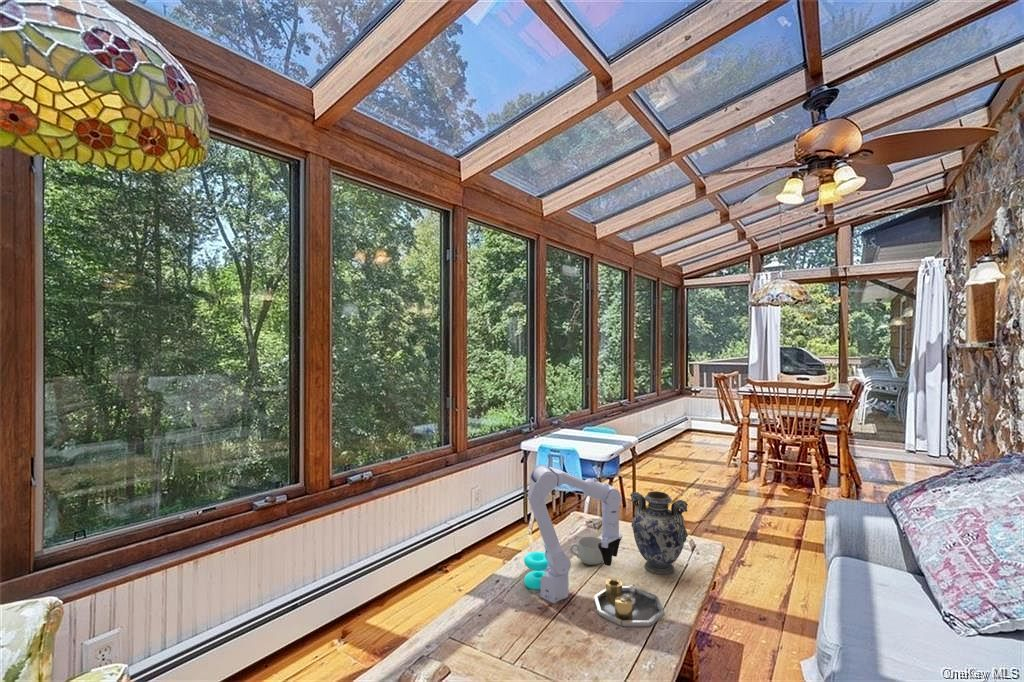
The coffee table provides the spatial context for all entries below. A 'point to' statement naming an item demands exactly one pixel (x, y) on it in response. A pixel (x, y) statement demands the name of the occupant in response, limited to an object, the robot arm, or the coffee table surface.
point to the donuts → (538, 564)
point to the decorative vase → (659, 530)
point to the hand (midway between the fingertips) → (610, 560)
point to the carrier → (630, 607)
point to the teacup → (588, 550)
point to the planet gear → (613, 589)
